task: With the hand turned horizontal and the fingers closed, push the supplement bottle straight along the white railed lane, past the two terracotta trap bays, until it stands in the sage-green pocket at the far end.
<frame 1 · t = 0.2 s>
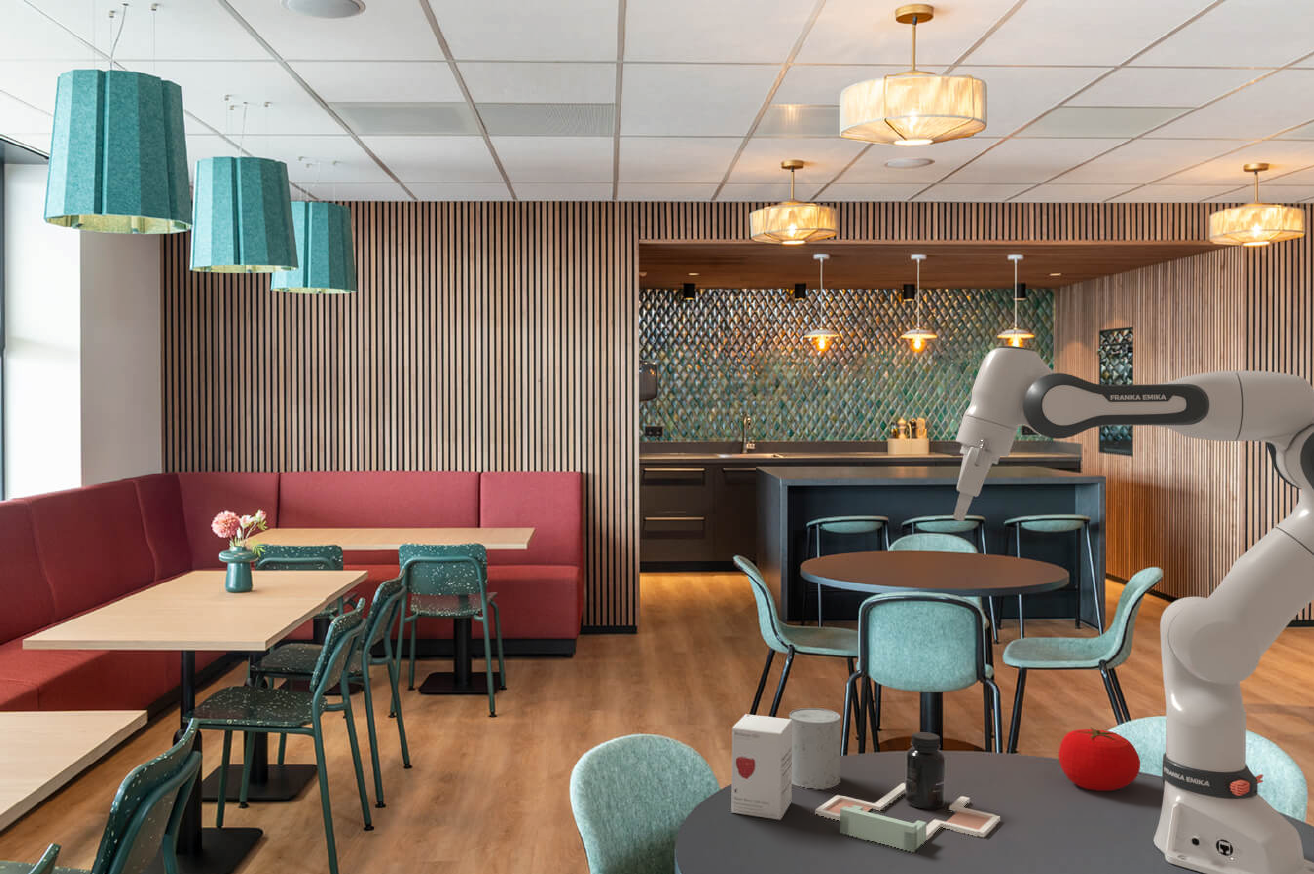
hand: (958, 518, 168), 51 cm above the table, tool tilted 15°, fingers open, 8 cm apart
supplement bottle: (925, 804, 178), on the table
trap lane: (907, 817, 171), on the table
tomato: (1097, 786, 187), on the table
supplement box: (761, 809, 175), on the table
speckled concrete cylinder: (814, 781, 189), on the table
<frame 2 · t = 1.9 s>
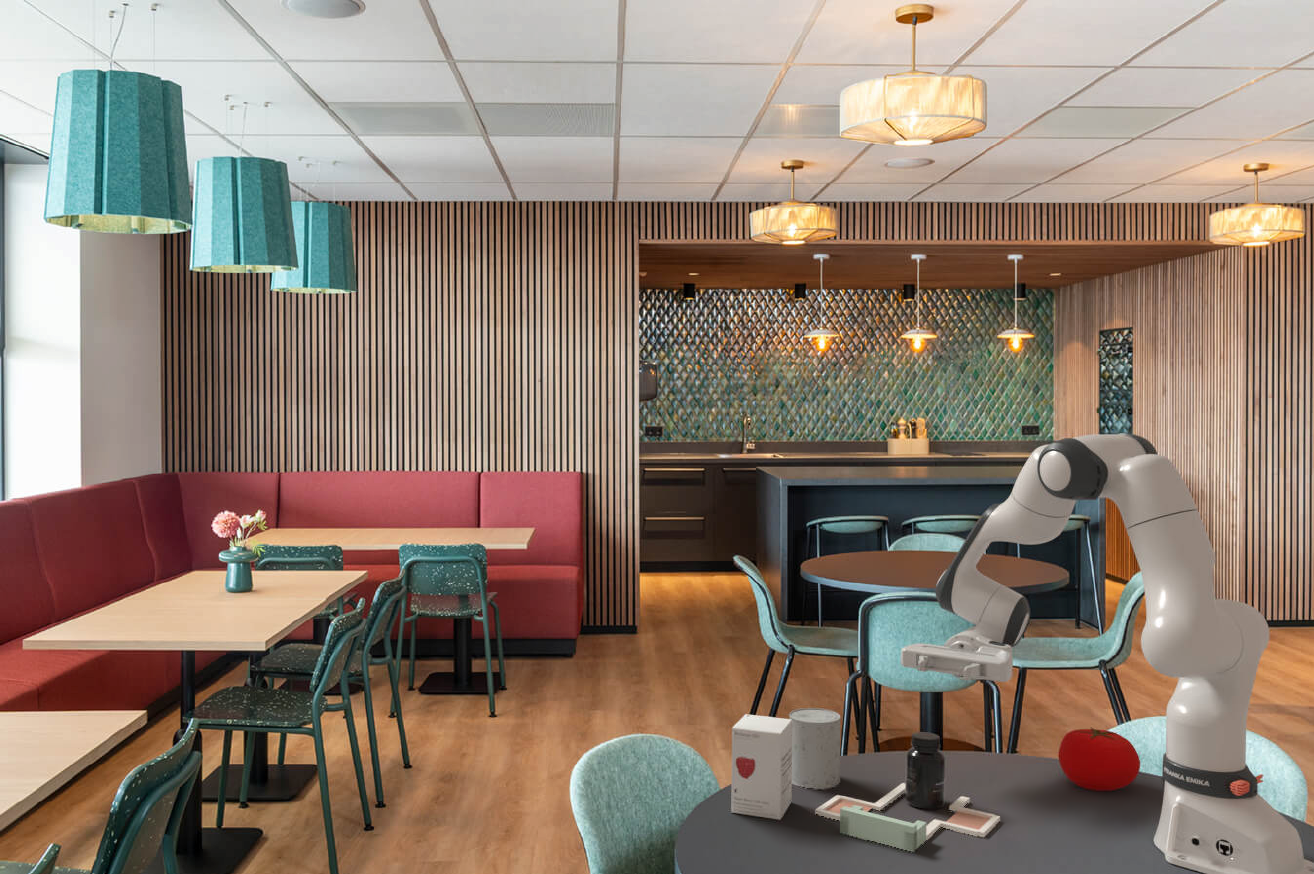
hand: (941, 670, 183), 22 cm above the table, tool horizontal, fingers open, 6 cm apart
nothing on the table moved.
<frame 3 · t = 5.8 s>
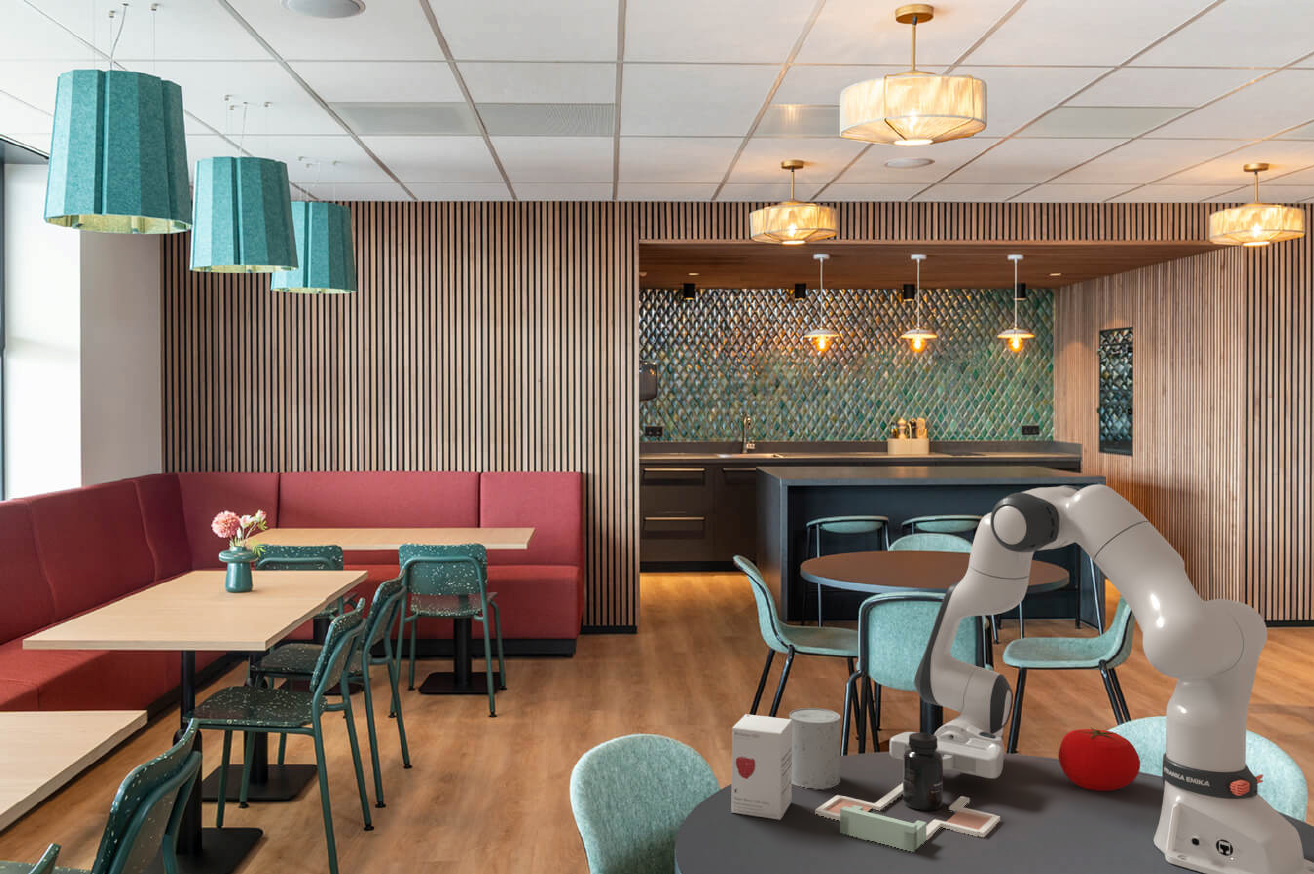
hand: (929, 765, 180), 6 cm above the table, tool horizontal, fingers closed, pressing on supplement bottle
supplement bottle: (922, 804, 177), on the table, touching gripper
everything else where it was.
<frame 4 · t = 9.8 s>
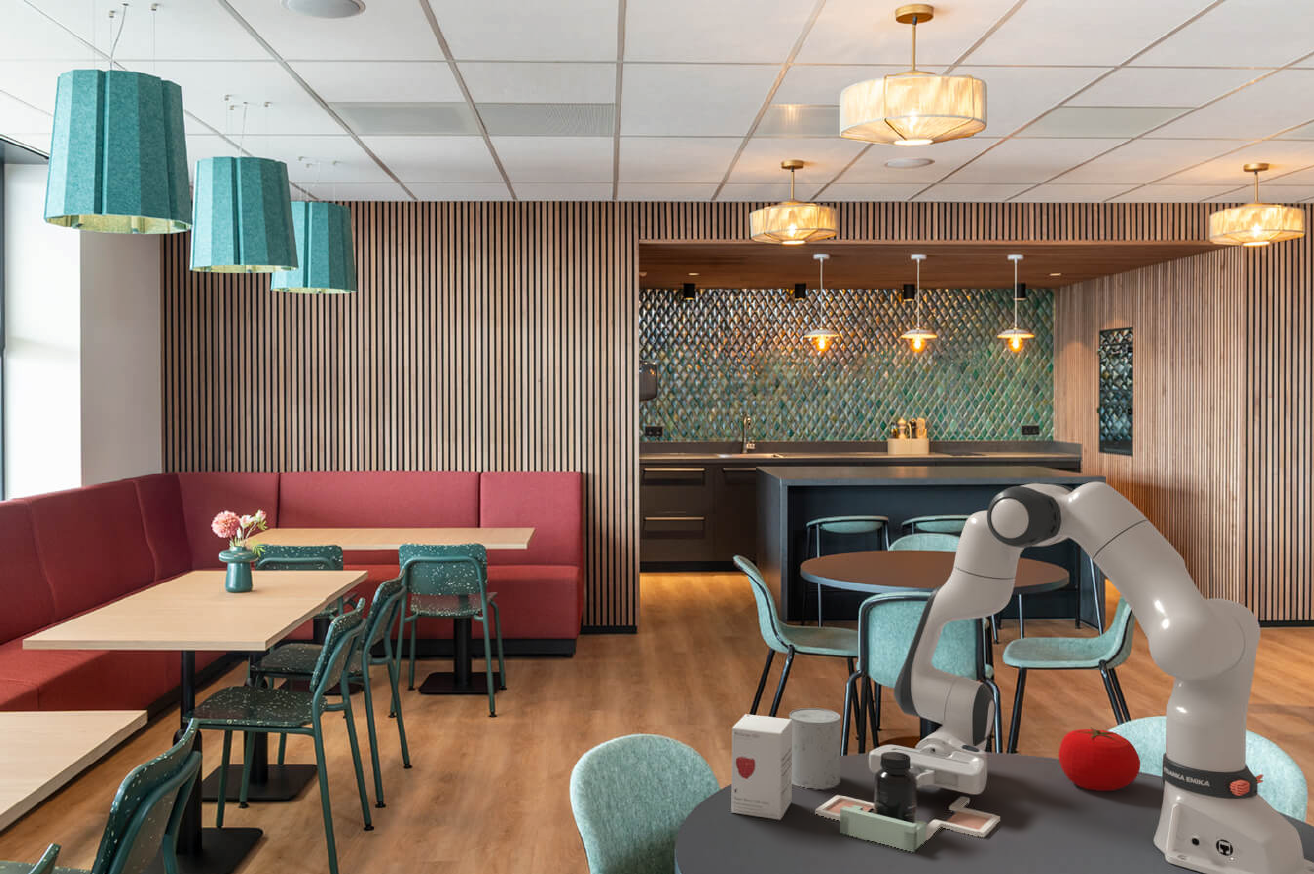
hand: (910, 781, 172), 6 cm above the table, tool horizontal, fingers closed
supplement bottle: (895, 829, 167), on the table
everything else where it was.
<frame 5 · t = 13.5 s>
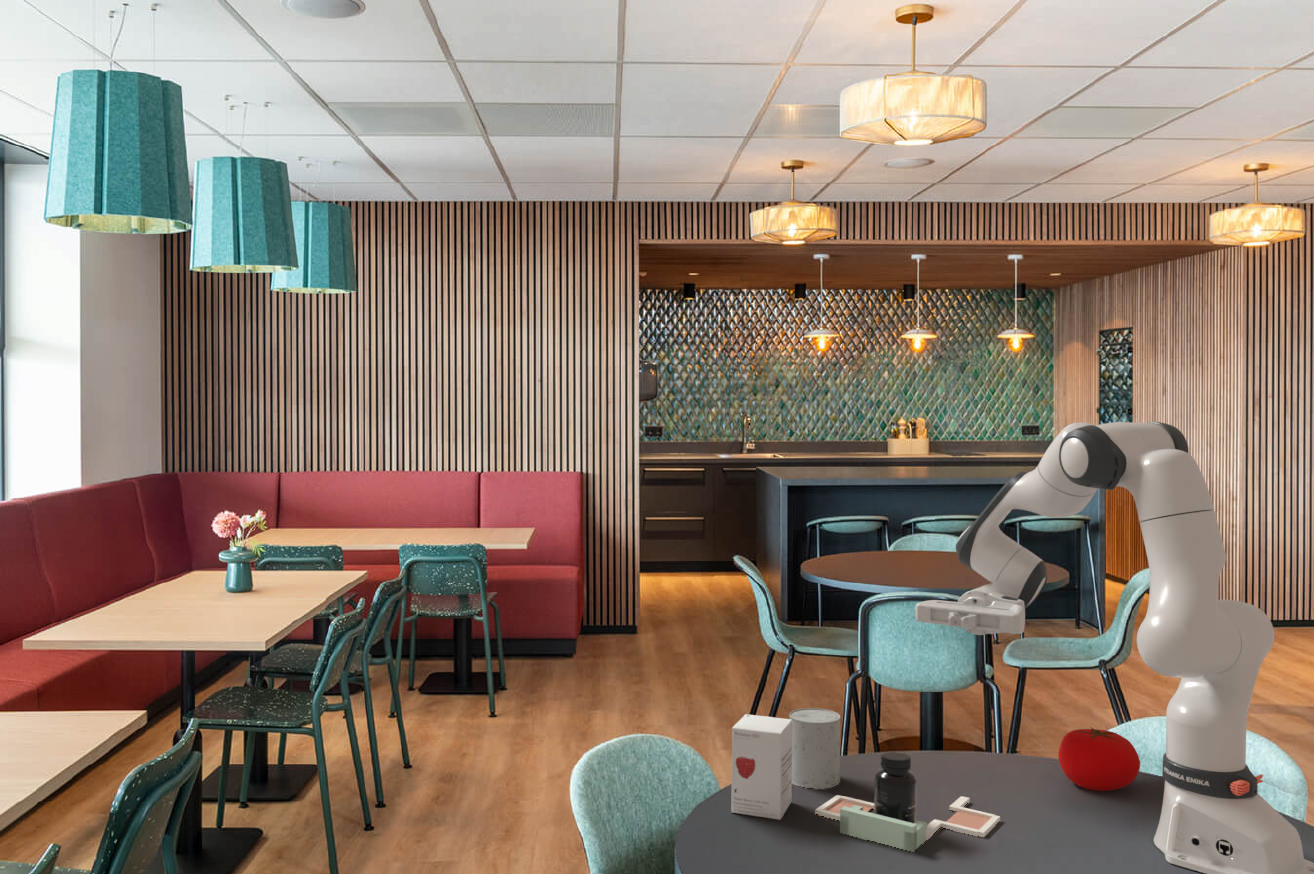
hand: (955, 622, 188), 30 cm above the table, tool horizontal, fingers closed
nothing on the table moved.
at the end: supplement bottle inside the target area (1.1 cm from its centre), on the table; supplement bottle tilted 0°; supplement bottle moved 13.5 cm from its start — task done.
